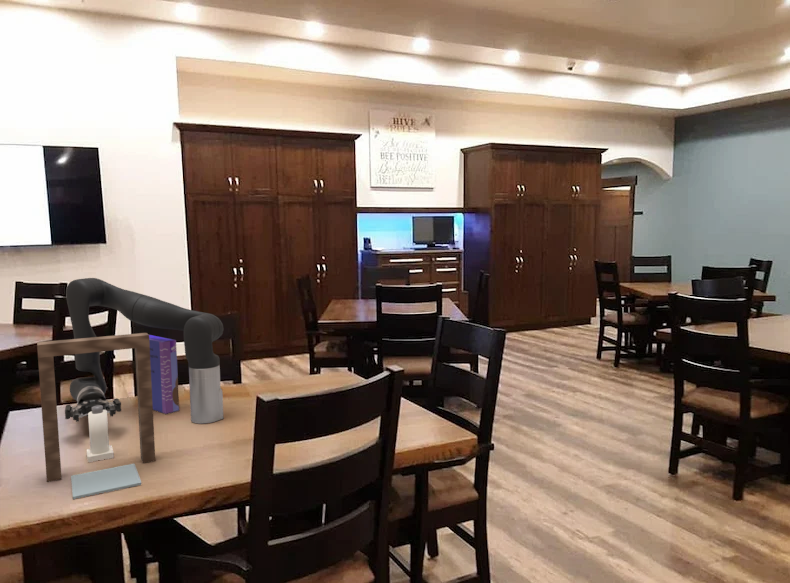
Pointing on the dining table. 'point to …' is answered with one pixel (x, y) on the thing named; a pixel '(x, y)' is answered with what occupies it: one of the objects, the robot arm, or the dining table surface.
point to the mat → (104, 480)
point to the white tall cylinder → (98, 435)
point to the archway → (88, 346)
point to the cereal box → (164, 374)
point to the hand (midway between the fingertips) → (94, 415)
